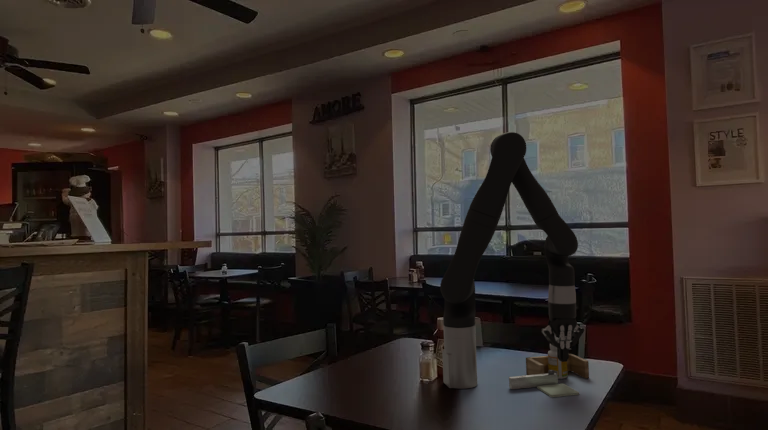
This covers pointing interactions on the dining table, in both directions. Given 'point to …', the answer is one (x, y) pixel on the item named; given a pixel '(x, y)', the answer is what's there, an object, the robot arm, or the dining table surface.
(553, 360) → the supplement bottle
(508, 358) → the dining table surface
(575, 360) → the bracket
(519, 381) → the bar
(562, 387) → the coaster
